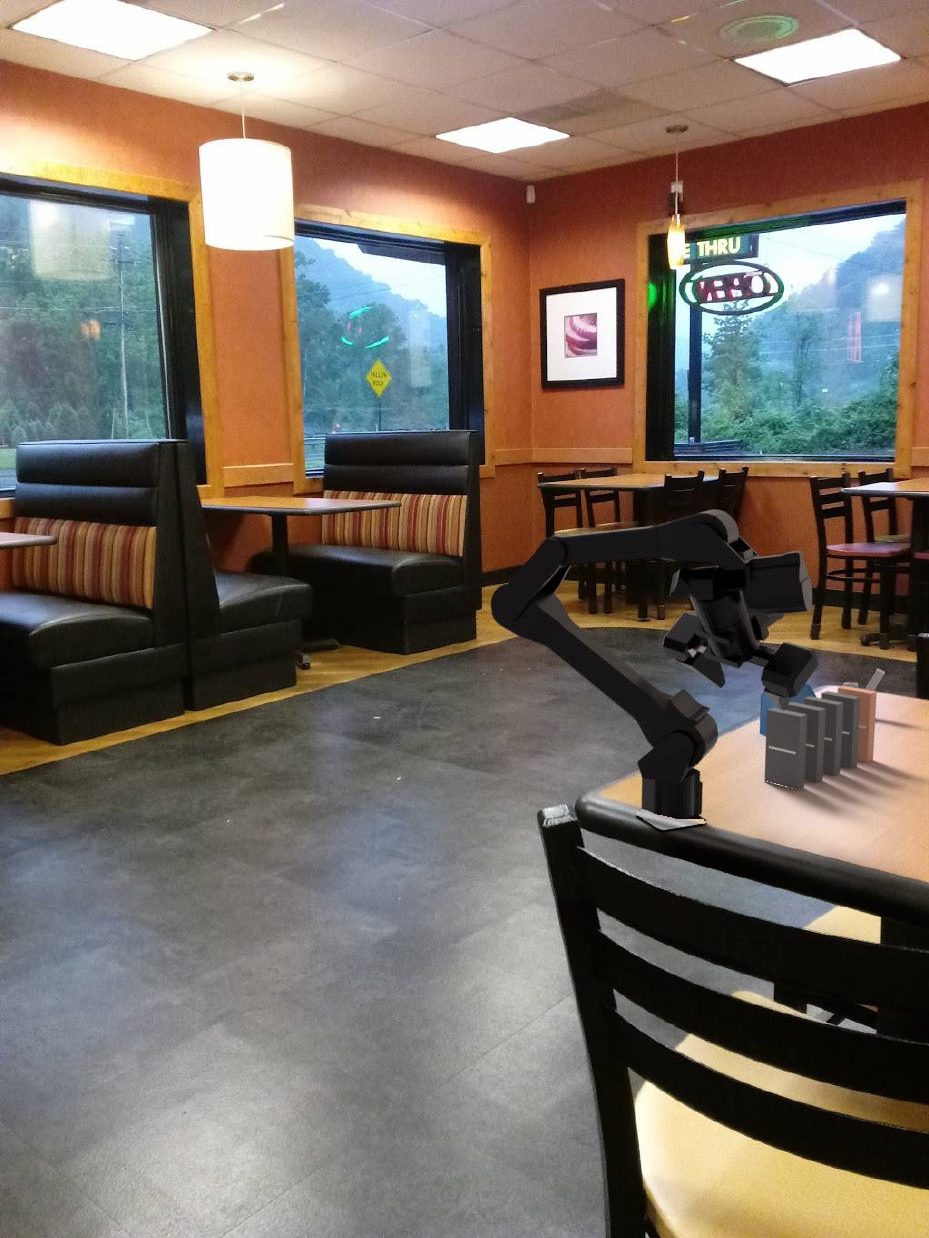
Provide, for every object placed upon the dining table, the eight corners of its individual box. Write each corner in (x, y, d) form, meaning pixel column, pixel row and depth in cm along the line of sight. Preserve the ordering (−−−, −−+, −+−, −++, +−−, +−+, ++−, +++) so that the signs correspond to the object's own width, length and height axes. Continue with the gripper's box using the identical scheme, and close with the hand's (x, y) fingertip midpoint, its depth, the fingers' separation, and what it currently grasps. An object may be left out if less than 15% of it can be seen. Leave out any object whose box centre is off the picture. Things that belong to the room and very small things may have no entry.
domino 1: (797, 790, 139) (800, 716, 137) (764, 781, 143) (766, 709, 141) (804, 788, 140) (807, 714, 138) (771, 779, 144) (773, 707, 142)
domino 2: (815, 783, 142) (819, 710, 140) (783, 774, 146) (785, 703, 144) (822, 780, 143) (825, 708, 141) (789, 772, 147) (792, 701, 145)
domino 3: (833, 775, 145) (837, 704, 143) (801, 767, 149) (803, 698, 147) (840, 773, 146) (843, 702, 144) (807, 765, 150) (810, 696, 148)
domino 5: (867, 762, 151) (870, 693, 149) (834, 754, 154) (838, 687, 153) (873, 759, 152) (876, 691, 150) (840, 752, 155) (844, 685, 154)
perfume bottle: (781, 744, 160) (784, 666, 158) (759, 733, 166) (762, 658, 164) (817, 740, 162) (820, 663, 160) (794, 730, 167) (797, 655, 165)
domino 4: (850, 768, 148) (854, 699, 146) (818, 761, 151) (821, 692, 150) (856, 766, 149) (860, 697, 147) (824, 758, 153) (827, 691, 151)
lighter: (836, 713, 177) (838, 666, 175) (837, 711, 178) (839, 664, 177) (881, 718, 174) (884, 670, 172) (882, 715, 175) (885, 668, 174)
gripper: (830, 582, 120) (853, 671, 130) (695, 549, 133) (725, 632, 143) (778, 652, 116) (806, 738, 126) (644, 610, 129) (679, 691, 139)
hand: (752, 696), depth 133 cm, fingers open, 9 cm apart
